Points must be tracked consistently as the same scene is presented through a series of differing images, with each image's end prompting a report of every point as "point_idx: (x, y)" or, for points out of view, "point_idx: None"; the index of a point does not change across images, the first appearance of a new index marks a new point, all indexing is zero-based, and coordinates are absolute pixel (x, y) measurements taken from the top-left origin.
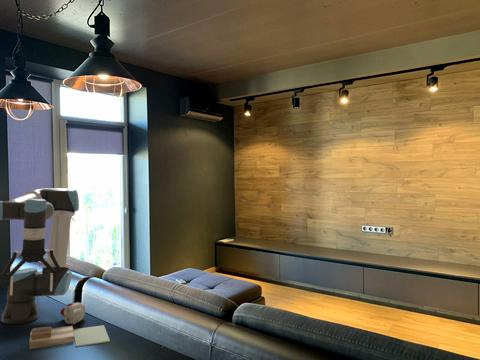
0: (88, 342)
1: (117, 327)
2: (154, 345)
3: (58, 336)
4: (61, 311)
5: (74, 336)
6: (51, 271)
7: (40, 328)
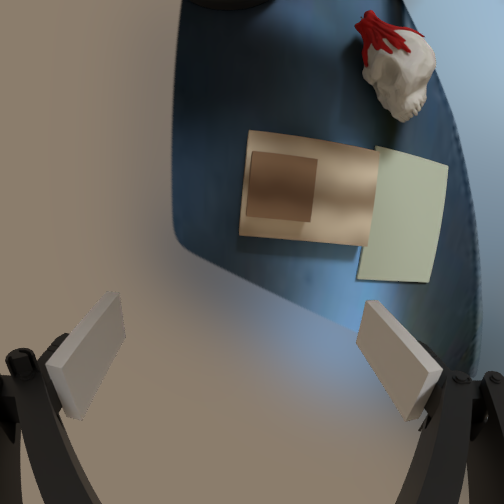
0: (388, 271)
1: (466, 196)
2: (468, 333)
3: (327, 225)
4: (360, 26)
5: None
6: (422, 440)
7: (280, 164)
